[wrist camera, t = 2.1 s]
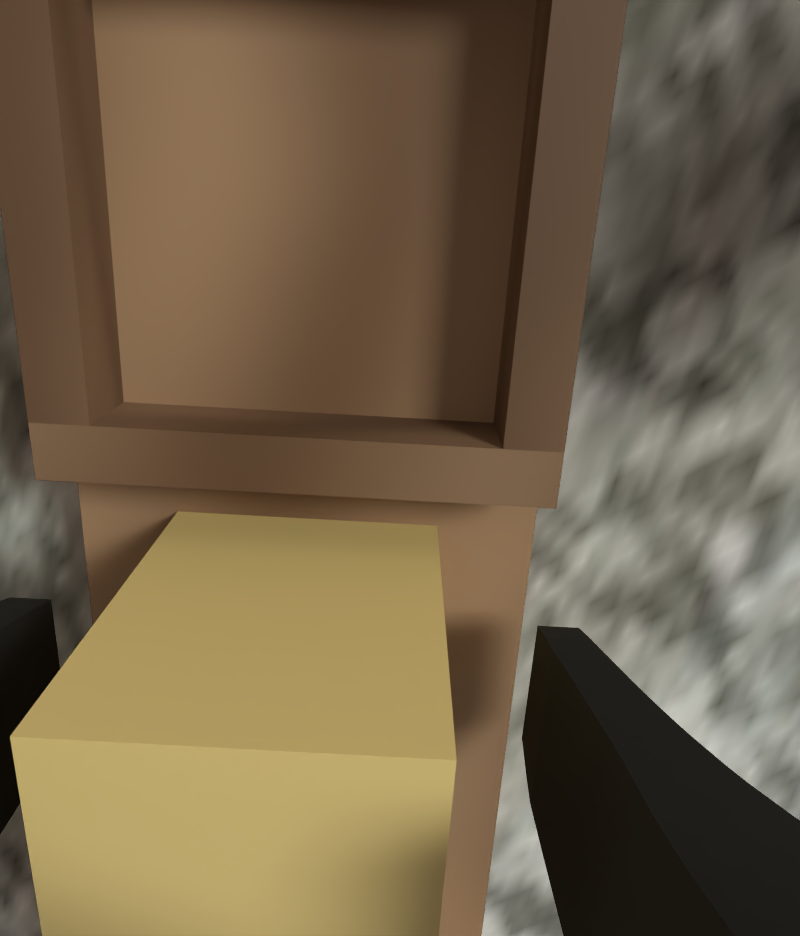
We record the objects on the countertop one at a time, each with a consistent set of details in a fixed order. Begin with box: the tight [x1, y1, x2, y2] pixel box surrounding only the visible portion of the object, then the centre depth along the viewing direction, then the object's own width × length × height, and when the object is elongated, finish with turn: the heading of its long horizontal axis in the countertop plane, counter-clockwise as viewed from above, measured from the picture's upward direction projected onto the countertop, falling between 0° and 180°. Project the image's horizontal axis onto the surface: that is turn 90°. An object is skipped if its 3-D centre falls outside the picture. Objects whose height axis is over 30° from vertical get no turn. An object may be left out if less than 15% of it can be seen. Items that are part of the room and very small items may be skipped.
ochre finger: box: [10, 512, 457, 936], centre depth 10 cm, size 4×4×5 cm
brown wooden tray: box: [0, 0, 628, 936], centre depth 10 cm, size 7×20×6 cm, turn 177°
